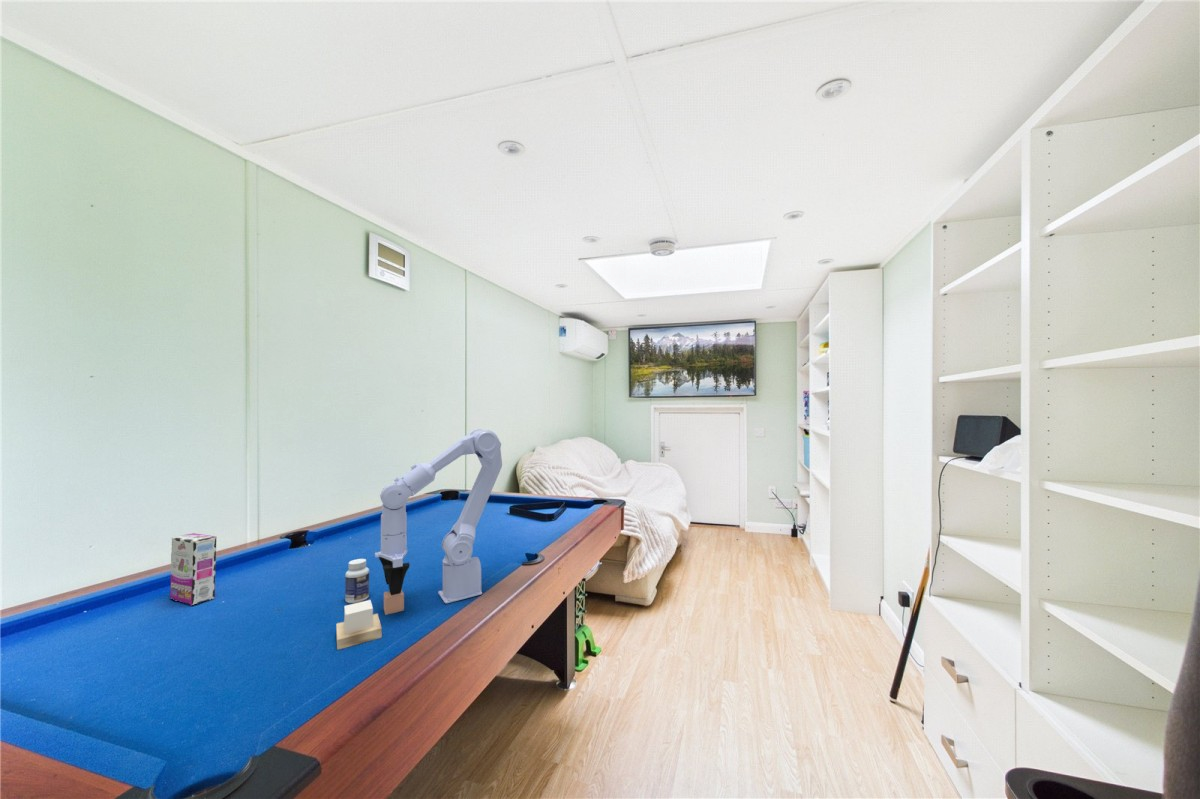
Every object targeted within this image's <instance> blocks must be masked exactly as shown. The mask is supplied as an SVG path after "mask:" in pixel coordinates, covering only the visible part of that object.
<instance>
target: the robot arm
mask: <svg viewBox="0 0 1200 799" xmlns="http://www.w3.org/2000/svg"><path fill="white" fill-rule="evenodd" d="M501 447H502V443H501V441H500V439H499V437H498V434H496V433H495V432H494V431H492V430H489V429H488V430H487V429H486V430H485V429H475V430H473V431H471V433H469V434H466V435H464V436H462V437H461V438H460V439H458V440H457V441H456V442H454V443H453V444H452V445H450V446H449V447H448V448H446V449H445V450H444V451H442V452H441V453H440V454H438V456H435V458H433V459H432V460H431V461H429V462H427V463H425V462H420V463H418V464H416V463H414V464H413V465H411V466H410V468H411V469H409V470H408V471H406V472H405V473H403V475H402V476H399V477H398V476H397V477H395V478H394V479H393V481H394V482H390V483H388V484H386V485H384V487H383V488H382V490H381V492H380V494H379V497H380V500H381V503H382V504H381V505H382V506H381V513H382V514H381V515H380V551H378V552H377V551H376V552H375V553H374V557H375V558H378V560H380V563H381V565H382V569H383V574H384V579H385V583H386V585H388V589H389V591H390V594H391V595H396V594H400V593H401V590H402V591H403V584H404V580H405V576H406V574H407V572H408V570H409V569H410V562H405V563H404V561H403V560H404V558H405V557H406V555H407V553H408V547H407V540H408V539H407V535H408V534H407V526H408V524H407V521H408V519H407V518H408V514H407V513H408V512H406V511H407V510H406V509H407V507H406V506H407V503H408V501H409V499H410V498H411V497H413V496H415V495H417V494H418V493H419V492H421V491H422V490H423V489H425V487H427V486H429V485H430V484H431V483H433V482H434V481H435V479H436V474H437V473H438V472H439V471H441V470H443V469H444V468H445V467H447V466H448V465H450V464H451V463H453V462H454V461H456V460H458V459H459V458H460V457H462V456H465V455H476V456H477V458H478V460H479V463H480V465H481V468H480V470H479V472H478V474H477V476H476V479H475V481H474V483H473V486H472V487H471V490H470V492H469V494H468V497H467V499H466V501H465V503H464V506H463V508H462V510H461V513H460V514H459V517H458V519H457V521H456V522H455V523H454V524H453V525H452V527H451V529H450V531H449V532H448V533H447V534H446V535H445V536H444V537H443V539H442V542H441V548H442V550H443V552H444V553H445V555H444V558H442V590H438V592H437V593H438V595H439V597H440V599H442V601H443V603H445V604H450V603H454V602H458V601H461V600H465V599H469V598H472V597H474V598H475V597H476V596H480V595H482V594H483V592H482V566H481V561H480V558H479V557H478V556H472V555H473V551H474V548H473V546H474V542H475V539H476V530H477V529H476V528H477V527H478V524H479V522H480V519H481V518H482V517H481V516H482V514H483V512H484V510H485V507H486V505H487V502H488V500H489V497H490V495H491V493H492V491H493V489H494V486H495V484H496V481H497V479H498V477H499V475H500V473H501V470H502V466H503V460H502V450H501Z"/></svg>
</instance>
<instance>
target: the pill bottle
mask: <svg viewBox="0 0 1200 799" xmlns="http://www.w3.org/2000/svg"><path fill="white" fill-rule="evenodd" d="M344 576H345V577H344V578H345V582H344V584H345V586H344V588H345V589H344V590H345V591H344V592H345V593H344V594H345V595H344V600H345V602H346V603H348V604H355V603H359V602H363V601H366V600H367V599H368V598H369V597H370V568H368V567H367V559H366V558H357V559H353V560H350V561H349V562H348V570H347V571H346V572H345V575H344Z"/></svg>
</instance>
